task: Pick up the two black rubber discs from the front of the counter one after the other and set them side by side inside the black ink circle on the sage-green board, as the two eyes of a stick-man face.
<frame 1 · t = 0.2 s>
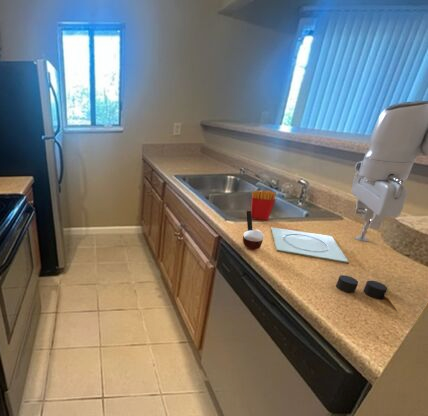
hand: (365, 220, 74), 19 cm above the worktop, tool pointing down, fingers open, 8 cm apart
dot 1: (345, 288, 76), on the worktop
chalice: (359, 244, 100), on the worktop
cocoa: (250, 246, 99), on the worktop
french fries: (258, 218, 123), on the worktop
dot 2: (373, 294, 74), on the worktop
face board: (305, 243, 100), on the worktop
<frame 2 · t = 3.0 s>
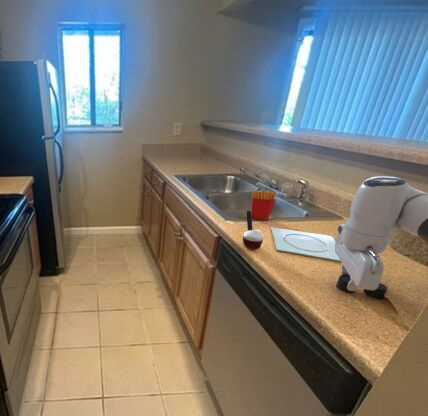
hand: (347, 283, 76), 2 cm above the worktop, tool pointing down, fingers closed on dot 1, 4 cm apart
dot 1: (345, 288, 76), on the worktop, touching gripper
everything else where it was.
when the fingers open (2 cm above the worktop, at t = 9.5 s): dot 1 stays where it is, resting on face board.
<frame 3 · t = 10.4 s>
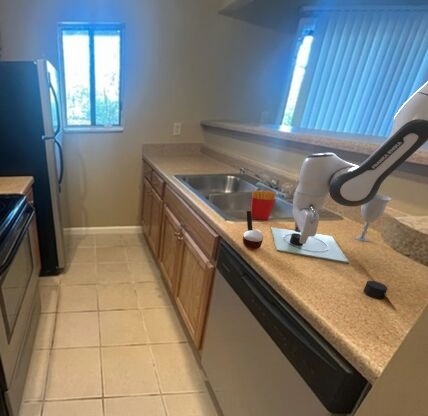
hand: (299, 236, 98), 3 cm above the worktop, tool pointing down, fingers open, 8 cm apart
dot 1: (296, 243, 99), point 1 cm above the worktop, touching face board
everything else where it was.
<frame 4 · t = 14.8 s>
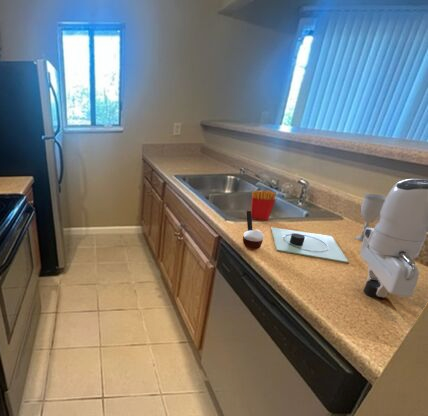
hand: (375, 289, 73), 2 cm above the worktop, tool pointing down, fingers closed on dot 2, 4 cm apart
dot 2: (373, 294, 74), on the worktop, touching gripper
everything else where it was.
when the fingers open (2 cm above the worktop, at t = 21.4 s): dot 2 stays where it is, resting on face board.
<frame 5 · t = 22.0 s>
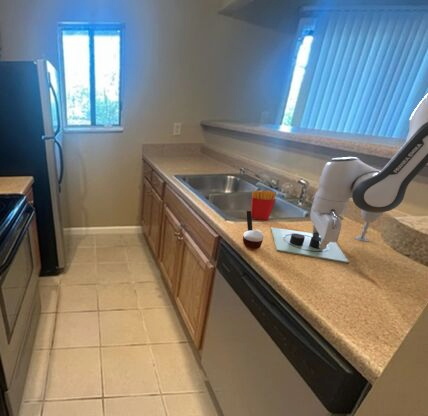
hand: (318, 242, 96), 2 cm above the worktop, tool pointing down, fingers open, 8 cm apart
dot 2: (316, 246, 97), point 1 cm above the worktop, touching face board
everything else where it was.
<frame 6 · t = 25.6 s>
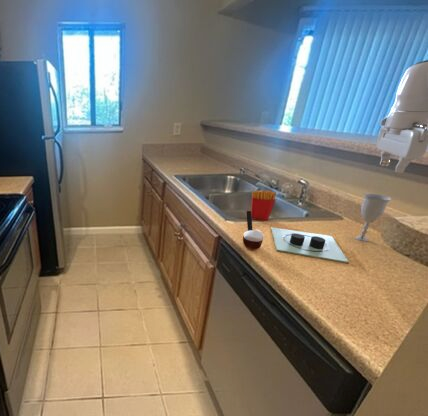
hand: (390, 168, 84), 29 cm above the worktop, tool pointing down, fingers open, 8 cm apart
nothing on the worktop moved.
at the end: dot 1 inside the target area on the face board (3.7 cm from its centre), point 0.6 cm above the face board's base; dot 2 inside the target area on the face board (3.4 cm from its centre), point 0.6 cm above the face board's base; dot 2 tilted 0° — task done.
